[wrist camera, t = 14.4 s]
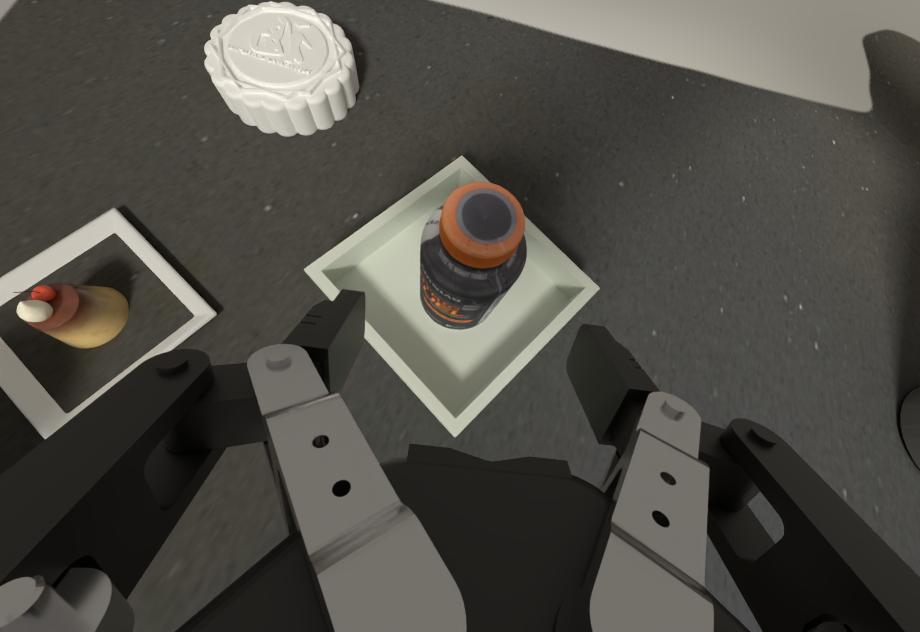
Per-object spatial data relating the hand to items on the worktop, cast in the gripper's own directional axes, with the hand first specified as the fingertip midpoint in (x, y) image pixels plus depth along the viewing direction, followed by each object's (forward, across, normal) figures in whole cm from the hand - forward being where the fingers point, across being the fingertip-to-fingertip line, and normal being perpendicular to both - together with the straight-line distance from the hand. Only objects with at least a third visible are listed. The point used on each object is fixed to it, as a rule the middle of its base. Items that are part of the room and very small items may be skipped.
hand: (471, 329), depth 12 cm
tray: (+14, 0, +5) cm, 15 cm away
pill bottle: (+13, 0, +5) cm, 14 cm away
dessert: (+10, +25, +10) cm, 29 cm away
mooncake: (+27, +17, -7) cm, 33 cm away
